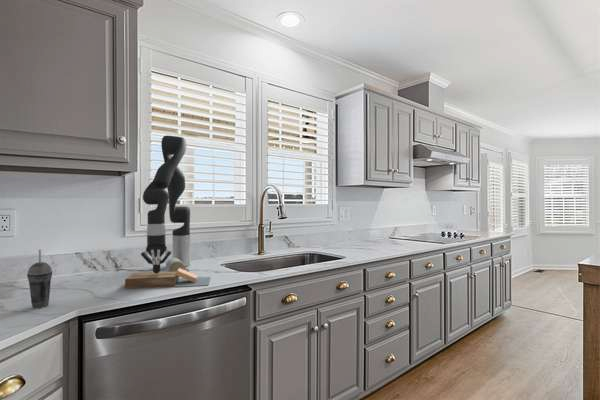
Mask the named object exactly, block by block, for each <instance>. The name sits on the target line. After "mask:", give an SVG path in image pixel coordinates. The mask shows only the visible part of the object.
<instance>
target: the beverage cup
mask: <svg viewBox="0 0 600 400" xmlns="http://www.w3.org/2000/svg"><path fill="white" fill-rule="evenodd" d="M41 254H42V250H41V249H38V262H35V263H34V264H32V265H31V266H30V267H29V268H28V270H27V275H26V276H27V280H28V285H29V286H28V287H29V292H30V293H29V294H30V302H31V306H32V307H33V308H38V309H43V308H42V307H44V308H47V307H49V304H50V303H49V302H50V294H51V282H52V277H53V269H52V267H51V265H50V264H48V263H47V262H44V261H43V262H42V259H41V258H42V255H41ZM46 306H47V307H46ZM32 307H31V308H32ZM33 308H32V309H33Z"/></svg>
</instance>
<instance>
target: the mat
mask: <svg viewBox="0 0 600 400" xmlns="http://www.w3.org/2000/svg"><path fill="white" fill-rule="evenodd" d="M210 282H211V276H199V277H198V276H197V278H196V281H195V283H194V282H192V281H189V280H187V279H184V278H182V277H179V280H178V282H177V283H176V285H175V286H173V287H174V288H186V287H187V288H189V287H204V286H205V287H207V286H209V284H210Z"/></svg>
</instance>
